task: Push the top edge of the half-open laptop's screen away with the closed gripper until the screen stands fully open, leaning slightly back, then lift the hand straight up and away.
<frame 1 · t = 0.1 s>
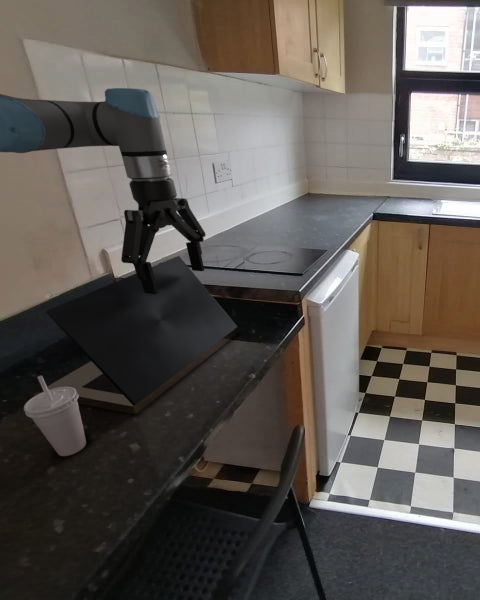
hand: (176, 281, 86), 17 cm above the counter, tool pointing down, fingers open, 13 cm apart
laptop: (152, 362, 88), on the counter
smoothie: (72, 448, 65), on the counter
paper bowls: (131, 326, 103), on the counter
laptop screen: (159, 320, 82), point 11 cm above the counter, hinge at 55.0°
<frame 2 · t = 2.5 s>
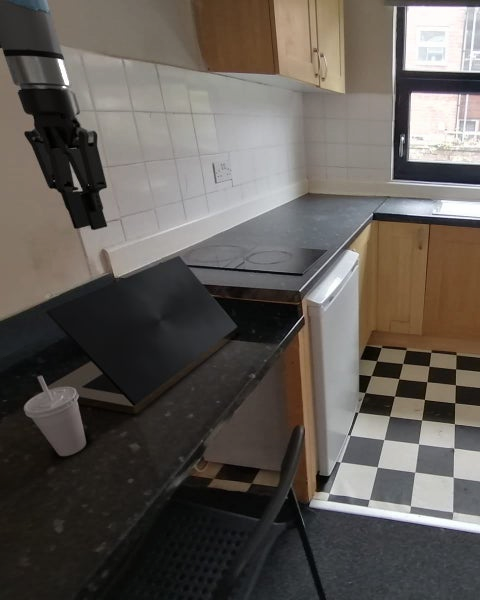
hand: (90, 227, 77), 30 cm above the counter, tool pointing down, fingers open, 3 cm apart
nothing on the counter moved.
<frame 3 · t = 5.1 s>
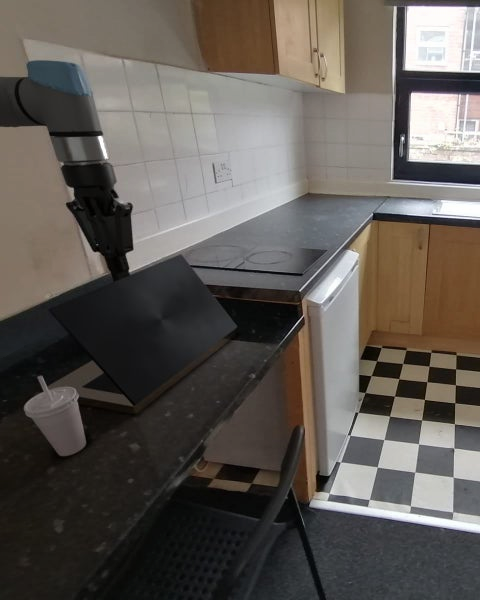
hand: (124, 286, 81), 18 cm above the counter, tool pointing down, fingers closed
laptop screen: (160, 320, 82), point 11 cm above the counter, hinge at 57.4°, touching gripper
everything else where it was.
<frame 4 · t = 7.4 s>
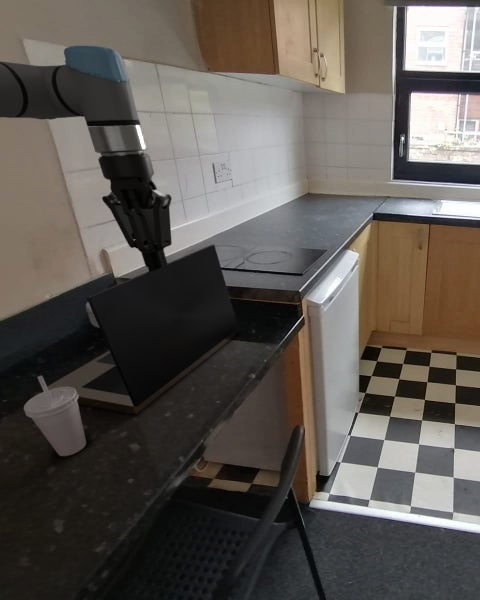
hand: (161, 282, 78), 19 cm above the counter, tool pointing down, fingers closed
laptop screen: (178, 316, 80), point 12 cm above the counter, hinge at 84.5°, touching gripper
everything else where it was.
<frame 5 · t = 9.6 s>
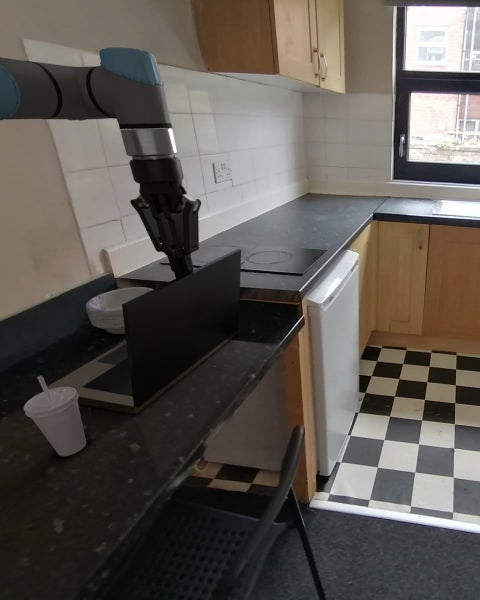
hand: (187, 287, 77), 19 cm above the counter, tool pointing down, fingers closed
laptop screen: (193, 319, 80), point 12 cm above the counter, hinge at 102.9°, touching gripper
everything else where it was.
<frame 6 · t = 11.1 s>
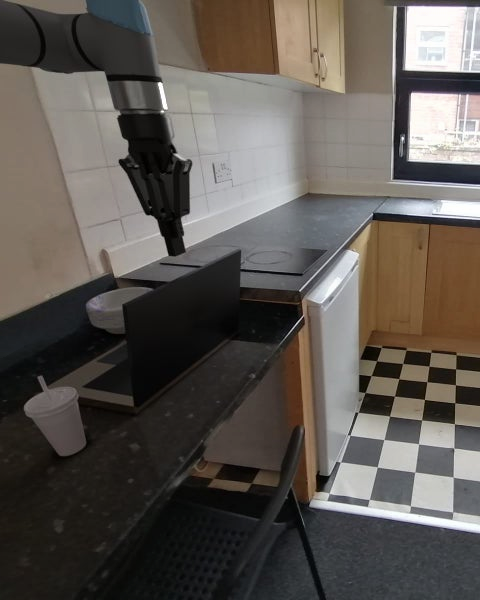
hand: (177, 254, 74), 26 cm above the counter, tool pointing down, fingers closed
laptop screen: (193, 319, 80), point 12 cm above the counter, hinge at 102.9°
everything else where it was.
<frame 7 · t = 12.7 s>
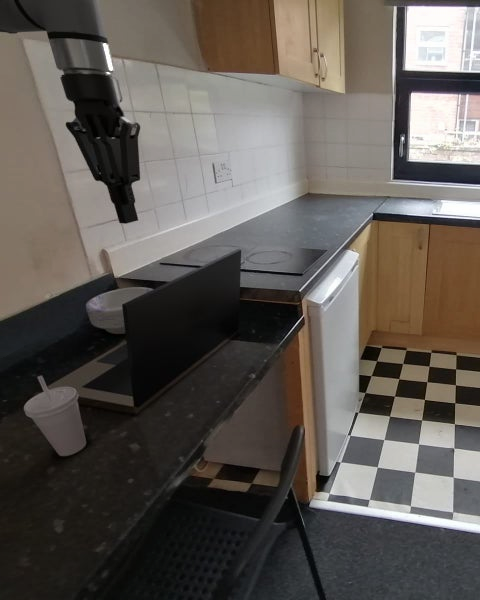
hand: (129, 221, 73), 31 cm above the counter, tool pointing down, fingers closed
nothing on the counter moved.
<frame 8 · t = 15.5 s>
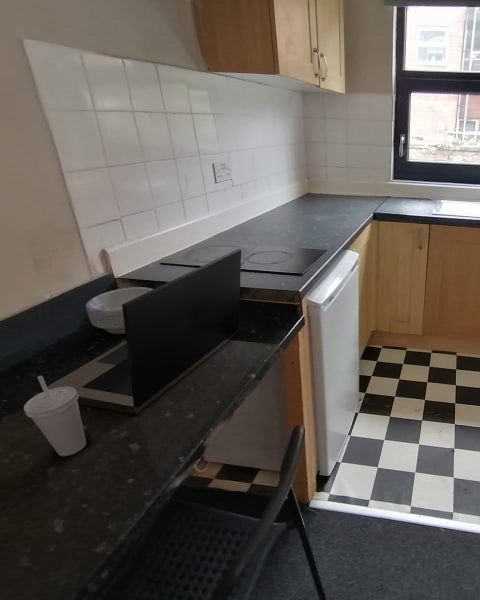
nothing on the counter moved.
at the end: laptop screen at +103° (first picture: +55°) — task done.
